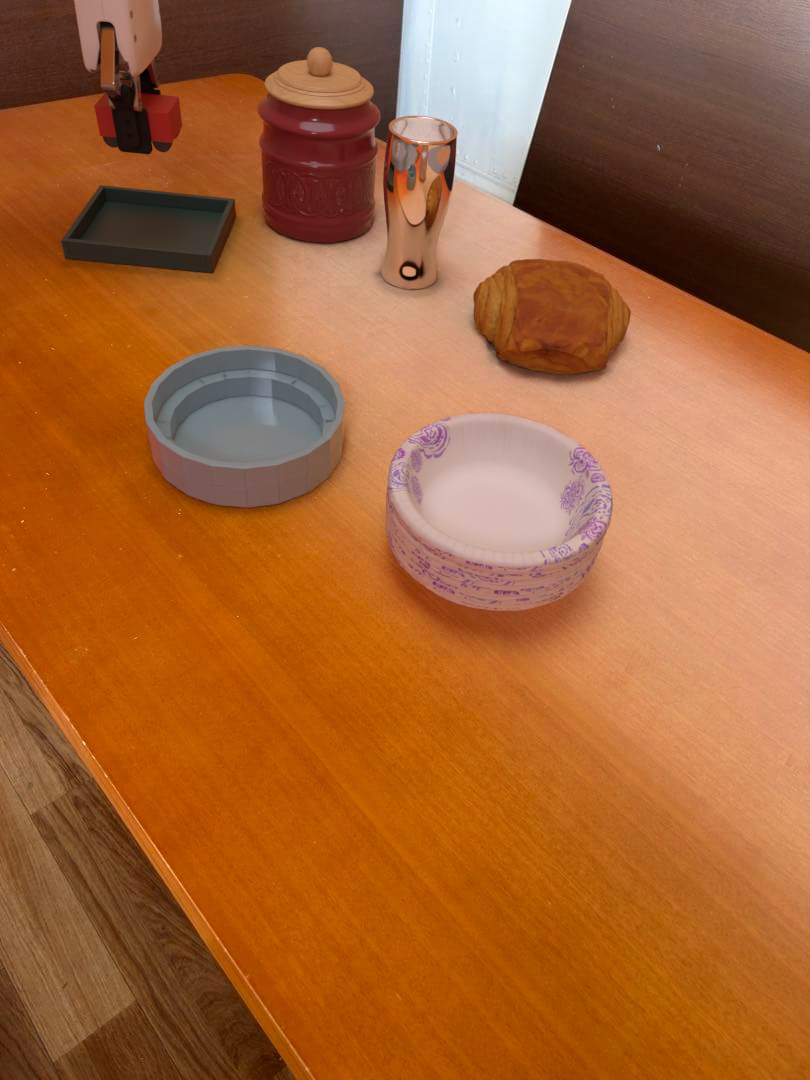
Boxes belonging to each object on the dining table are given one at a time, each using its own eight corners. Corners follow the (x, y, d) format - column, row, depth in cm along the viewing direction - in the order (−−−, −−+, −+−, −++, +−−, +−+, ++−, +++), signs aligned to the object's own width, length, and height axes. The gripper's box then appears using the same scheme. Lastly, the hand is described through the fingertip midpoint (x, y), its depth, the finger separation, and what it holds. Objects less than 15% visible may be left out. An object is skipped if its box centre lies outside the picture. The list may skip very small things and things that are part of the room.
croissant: (480, 308, 86) (481, 236, 81) (627, 316, 83) (639, 242, 78) (459, 381, 76) (459, 304, 71) (626, 393, 73) (639, 314, 68)
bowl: (130, 502, 59) (119, 457, 56) (178, 381, 70) (171, 337, 66) (333, 520, 60) (334, 476, 57) (350, 397, 70) (352, 354, 67)
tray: (65, 258, 82) (60, 240, 80) (103, 202, 91) (99, 184, 89) (212, 273, 82) (210, 255, 81) (236, 215, 91) (234, 198, 90)
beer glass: (367, 263, 86) (375, 116, 76) (425, 255, 89) (441, 112, 78) (391, 296, 82) (404, 146, 71) (451, 287, 85) (472, 140, 74)
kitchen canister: (240, 210, 92) (228, 37, 79) (327, 184, 99) (329, 21, 86) (308, 256, 86) (308, 78, 73) (396, 226, 93) (410, 58, 80)
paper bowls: (385, 478, 63) (393, 398, 58) (573, 494, 64) (599, 416, 58) (375, 632, 53) (382, 554, 47) (598, 649, 54) (633, 574, 48)
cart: (102, 147, 78) (93, 105, 75) (115, 130, 81) (107, 89, 78) (173, 154, 78) (168, 112, 75) (183, 136, 81) (178, 96, 78)
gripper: (92, -110, 72) (128, 107, 85) (24, -71, 60) (78, 173, 74) (175, -102, 72) (198, 114, 85) (123, -61, 60) (159, 181, 74)
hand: (142, 139), depth 79 cm, fingers closed on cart, 4 cm apart
